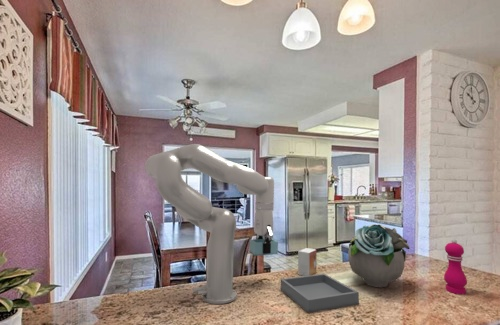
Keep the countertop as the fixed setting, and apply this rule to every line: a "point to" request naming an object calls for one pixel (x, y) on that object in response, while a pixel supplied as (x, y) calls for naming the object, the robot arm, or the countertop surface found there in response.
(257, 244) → the small crate
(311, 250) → the small box
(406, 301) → the countertop surface
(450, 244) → the pepper mill
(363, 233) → the flower arrangement
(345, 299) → the gray square tray
